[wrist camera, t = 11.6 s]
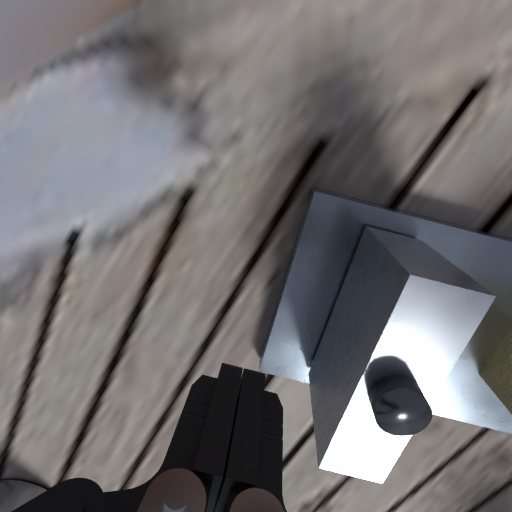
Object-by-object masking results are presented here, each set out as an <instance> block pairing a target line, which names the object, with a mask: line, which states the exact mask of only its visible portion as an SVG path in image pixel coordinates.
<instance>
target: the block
mask: <svg viewBox="0 0 512 512" xmlns="http://www.w3.org/2000/svg"><path fill="white" fill-rule="evenodd" d="M479 375H480V376H481V378H482V379H483V380H484V381H485V383H486V384H487V385H488V386H489V387H490V389H491V390H492V391H493V392H494V393H495V395H496V396H497V397H498V398H499V400H500V401H501V402H502V403H503V404H504V406H505V407H506V408H507V409H508V411H509V412H510V413H511V414H512V325H511V327H510V328H509V330H508V332H507V333H506V335H505V336H504V338H503V339H502V341H501V342H500V344H499V345H498V347H497V348H496V350H495V351H494V353H493V354H492V356H491V358H490V359H489V361H488V362H487V364H486V365H485V367H484V368H483V370H482V371H481V373H480V374H479Z"/></svg>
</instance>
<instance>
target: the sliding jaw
mask: <svg viewBox="0 0 512 512" xmlns="http://www.w3.org/2000/svg"><path fill="white" fill-rule="evenodd" d="M495 298H496V296H495V295H494V294H492V293H491V292H490V291H488V290H487V289H486V288H484V287H483V286H482V285H480V284H479V283H478V282H476V281H475V280H474V279H472V278H471V277H470V276H468V275H467V274H466V273H465V272H463V271H462V270H461V269H459V268H458V267H457V266H455V265H454V264H453V263H451V262H450V261H449V260H447V259H446V258H445V257H443V256H442V255H441V254H439V253H438V252H437V251H435V250H434V249H433V248H431V247H430V246H429V245H428V244H426V243H425V242H424V241H422V240H419V239H415V238H411V237H407V236H403V235H399V234H395V233H392V232H388V231H384V230H380V229H376V228H372V227H368V226H366V227H365V229H364V232H363V234H362V237H361V240H360V242H359V245H358V247H357V250H356V252H355V255H354V258H353V260H352V263H351V265H350V268H349V270H348V273H347V276H346V278H345V281H344V283H343V286H342V288H341V291H340V294H339V296H338V299H337V301H336V304H335V306H334V309H333V312H332V314H331V317H330V319H329V322H328V324H327V327H326V330H325V332H324V335H323V337H322V340H321V342H320V345H319V348H318V350H317V353H316V355H315V358H314V361H313V363H312V366H311V368H310V371H309V373H308V376H309V385H310V394H311V403H312V412H313V421H314V430H315V440H316V449H317V458H318V467H319V468H320V469H324V470H328V471H333V472H337V473H341V474H345V475H349V476H353V477H357V478H361V479H365V480H369V481H374V482H378V483H383V482H384V480H385V478H386V477H387V475H388V474H389V472H390V470H391V469H392V467H393V465H394V464H395V462H396V460H397V459H398V457H399V455H400V454H401V452H402V451H403V449H404V447H405V446H406V444H407V442H408V441H409V439H410V437H411V436H412V435H413V434H416V433H418V432H420V431H422V430H423V429H424V428H426V427H427V426H428V424H429V423H430V421H431V419H432V409H431V407H430V404H431V403H432V401H433V400H434V398H435V396H436V395H437V393H438V391H439V390H440V388H441V386H442V385H443V383H444V381H445V380H446V378H447V377H448V375H449V373H450V372H451V370H452V368H453V367H454V365H455V363H456V362H457V360H458V358H459V357H460V355H461V354H462V352H463V350H464V349H465V347H466V345H467V344H468V342H469V340H470V339H471V337H472V335H473V334H474V332H475V330H476V329H477V327H478V326H479V324H480V322H481V321H482V319H483V317H484V316H485V314H486V312H487V311H488V309H489V307H490V306H491V304H492V303H493V301H494V299H495Z"/></svg>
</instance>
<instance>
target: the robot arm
mask: <svg viewBox="0 0 512 512" xmlns="http://www.w3.org/2000/svg"><path fill="white" fill-rule="evenodd" d="M242 370H243V368H241V367H237V366H233V365H229V364H225V363H222V365H221V369H220V372H219V376H218V379H217V378H213V377H209V376H205V375H202V376H201V377H200V378H199V379H198V380H197V381H196V382H195V383H194V384H193V385H192V386H191V389H190V392H189V394H188V397H187V400H186V403H185V405H184V408H183V411H182V414H181V416H180V419H179V421H178V424H177V427H176V429H175V432H174V435H173V438H172V440H171V443H170V446H169V448H168V451H167V454H166V456H165V459H164V462H163V464H162V466H161V468H160V469H159V471H158V472H157V473H156V474H155V475H154V476H153V477H152V478H151V479H150V480H149V481H147V482H146V483H144V484H142V485H140V486H138V487H135V488H132V489H127V490H120V491H111V492H103V491H102V489H101V488H100V486H99V485H98V484H97V483H95V482H94V481H92V480H89V479H86V478H73V479H69V480H66V481H63V482H61V483H59V484H57V485H55V486H53V487H52V488H50V489H48V490H46V489H44V488H42V487H40V486H37V485H34V484H31V483H27V482H23V481H16V480H1V481H0V512H287V511H286V509H285V506H284V502H283V497H282V453H283V440H282V437H283V427H282V425H283V407H282V405H281V402H280V400H279V397H278V395H277V394H275V393H272V392H268V391H264V385H265V374H264V373H261V372H257V371H253V370H249V369H245V368H244V370H243V374H242ZM241 375H242V377H241Z"/></svg>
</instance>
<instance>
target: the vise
mask: <svg viewBox="0 0 512 512" xmlns="http://www.w3.org/2000/svg"><path fill="white" fill-rule="evenodd" d="M366 226H368V227H372V228H376V229H380V230H384V231H388V232H392V233H395V234H399V235H403V236H407V237H411V238H415V239H419V240H422V241H424V242H425V243H426V244H428V245H429V246H430V247H431V248H433V249H434V250H435V251H437V252H438V253H439V254H441V255H442V256H443V257H445V258H446V259H447V260H449V261H450V262H451V263H453V264H454V265H455V266H457V267H458V268H459V269H461V270H462V271H463V272H465V273H466V274H467V275H468V276H470V277H471V278H472V279H474V280H475V281H476V282H478V283H479V284H480V285H482V286H483V287H484V288H486V289H487V290H488V291H490V292H491V293H492V294H494V295H495V296H496V298H495V299H494V301H493V303H492V304H491V306H490V307H489V309H488V311H487V312H486V314H485V316H484V317H483V319H482V321H481V322H480V324H479V326H478V327H477V329H476V330H475V332H474V334H473V335H472V337H471V339H470V340H469V342H468V344H467V345H466V347H465V349H464V350H463V352H462V354H461V355H460V357H459V358H458V360H457V362H456V363H455V365H454V367H453V368H452V370H451V372H450V373H449V375H448V377H447V378H446V380H445V381H444V383H443V385H442V386H441V388H440V390H439V391H438V393H437V395H436V396H435V398H434V400H433V401H432V403H431V404H430V407H431V409H432V414H434V415H438V416H442V417H446V418H450V419H454V420H458V421H462V422H466V423H470V424H474V425H478V426H482V427H486V428H490V429H494V430H498V431H502V432H506V433H510V434H512V414H511V413H510V412H509V411H508V409H507V408H506V407H505V406H504V404H503V403H502V402H501V401H500V400H499V398H498V397H497V396H496V395H495V393H494V392H493V391H492V390H491V389H490V387H489V386H488V385H487V384H486V383H485V381H484V380H483V379H482V378H481V376H480V375H479V374H480V373H481V371H482V370H483V368H484V367H485V365H486V364H487V362H488V361H489V359H490V358H491V356H492V354H493V353H494V351H495V350H496V348H497V347H498V345H499V344H500V342H501V341H502V339H503V338H504V336H505V335H506V333H507V332H508V330H509V328H510V327H511V325H512V239H510V238H506V237H502V236H498V235H495V234H491V233H487V232H483V231H479V230H475V229H471V228H467V227H463V226H460V225H456V224H452V223H448V222H444V221H440V220H436V219H432V218H429V217H425V216H421V215H417V214H413V213H409V212H405V211H401V210H397V209H394V208H390V207H386V206H382V205H378V204H374V203H370V202H366V201H362V200H359V199H355V198H351V197H347V196H343V195H339V194H335V193H331V192H327V191H324V190H320V189H316V188H312V191H311V194H310V198H309V201H308V204H307V207H306V211H305V214H304V217H303V220H302V224H301V227H300V230H299V234H298V237H297V240H296V243H295V247H294V250H293V253H292V256H291V260H290V263H289V266H288V269H287V273H286V276H285V279H284V282H283V286H282V289H281V292H280V296H279V299H278V302H277V305H276V309H275V312H274V315H273V318H272V322H271V325H270V328H269V331H268V335H267V338H266V341H265V344H264V348H263V351H262V354H261V358H260V365H259V371H260V372H264V373H268V374H272V375H276V376H280V377H284V378H288V379H292V380H297V381H301V382H305V383H309V376H308V373H309V371H310V368H311V366H312V363H313V361H314V358H315V355H316V353H317V350H318V348H319V345H320V342H321V340H322V337H323V335H324V332H325V330H326V327H327V324H328V322H329V319H330V317H331V314H332V312H333V309H334V306H335V304H336V301H337V299H338V296H339V294H340V291H341V288H342V286H343V283H344V281H345V278H346V276H347V273H348V270H349V268H350V265H351V263H352V260H353V258H354V255H355V252H356V250H357V247H358V245H359V242H360V240H361V237H362V234H363V232H364V229H365V227H366Z"/></svg>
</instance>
